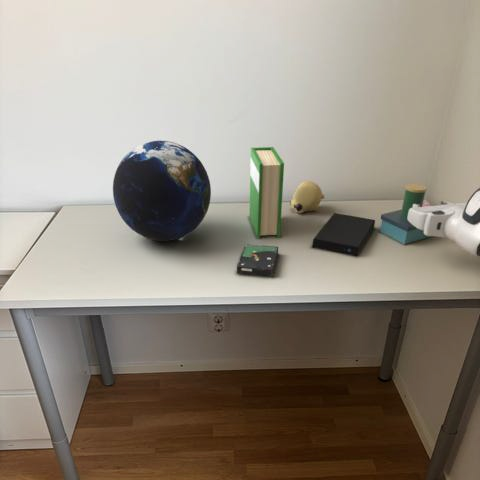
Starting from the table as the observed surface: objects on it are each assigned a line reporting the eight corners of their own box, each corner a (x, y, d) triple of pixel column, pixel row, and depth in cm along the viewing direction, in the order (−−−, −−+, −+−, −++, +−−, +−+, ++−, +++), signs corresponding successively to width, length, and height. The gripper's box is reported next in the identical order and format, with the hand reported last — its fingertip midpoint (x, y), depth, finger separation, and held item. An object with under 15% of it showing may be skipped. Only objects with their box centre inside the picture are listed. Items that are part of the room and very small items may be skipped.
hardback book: (279, 237, 167) (284, 163, 153) (257, 238, 166) (259, 164, 152) (270, 216, 181) (273, 147, 168) (249, 217, 180) (250, 147, 167)
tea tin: (409, 211, 170) (415, 182, 164) (424, 218, 165) (430, 188, 159) (396, 215, 167) (401, 185, 161) (410, 222, 162) (416, 191, 157)
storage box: (408, 223, 177) (412, 206, 173) (435, 236, 168) (439, 218, 165) (378, 231, 171) (381, 214, 167) (404, 245, 162) (408, 227, 159)
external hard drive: (373, 228, 173) (375, 219, 171) (356, 256, 156) (358, 247, 154) (332, 220, 178) (333, 212, 176) (312, 247, 160) (312, 238, 159)
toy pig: (299, 214, 192) (280, 198, 186) (321, 189, 189) (302, 171, 183) (309, 224, 184) (289, 207, 178) (332, 197, 181) (312, 179, 175)
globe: (230, 234, 168) (230, 140, 152) (164, 267, 149) (155, 164, 132) (167, 211, 184) (160, 124, 167) (100, 238, 165) (84, 143, 148)
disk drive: (272, 278, 144) (278, 254, 156) (273, 269, 143) (278, 245, 155) (236, 275, 146) (244, 251, 158) (236, 266, 144) (244, 243, 156)
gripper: (490, 208, 145) (461, 192, 156) (425, 215, 140) (400, 197, 151) (484, 229, 148) (456, 211, 159) (420, 236, 144) (396, 217, 155)
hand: (428, 204), depth 155 cm, fingers open, 8 cm apart
